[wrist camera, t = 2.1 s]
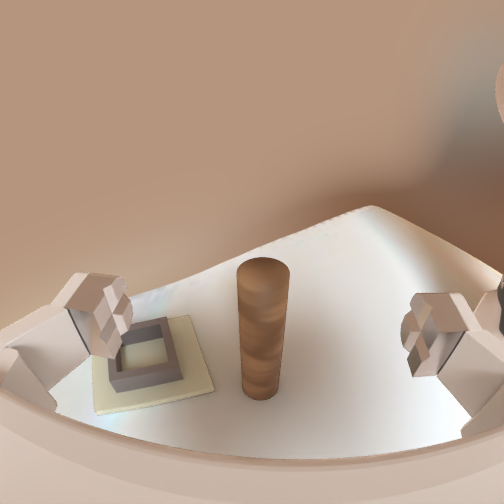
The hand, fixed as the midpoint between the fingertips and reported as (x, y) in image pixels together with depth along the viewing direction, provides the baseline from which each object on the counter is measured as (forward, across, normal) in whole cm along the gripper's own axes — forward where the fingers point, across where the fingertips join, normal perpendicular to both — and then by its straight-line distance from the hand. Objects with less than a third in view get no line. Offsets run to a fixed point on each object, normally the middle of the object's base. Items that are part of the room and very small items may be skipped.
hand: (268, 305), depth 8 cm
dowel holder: (+14, +14, +24) cm, 31 cm away
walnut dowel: (+13, 0, +24) cm, 27 cm away
